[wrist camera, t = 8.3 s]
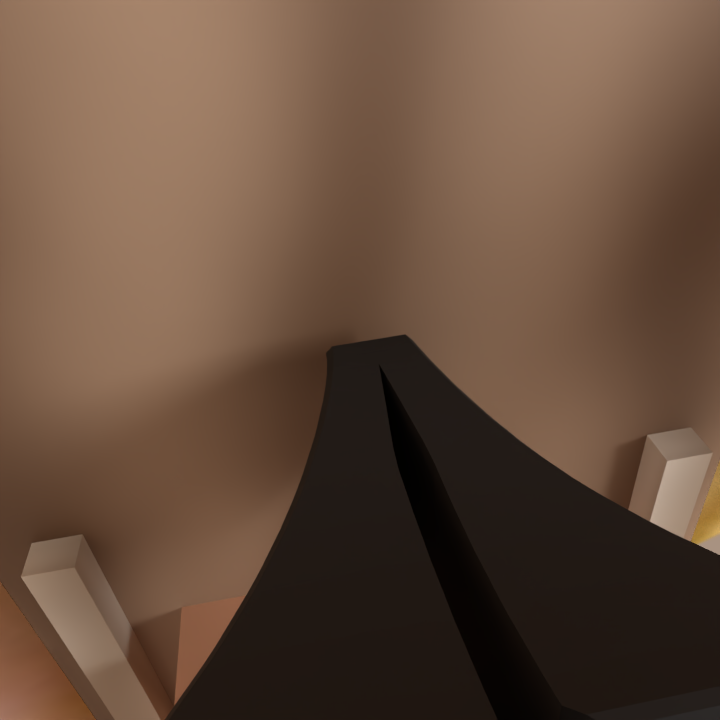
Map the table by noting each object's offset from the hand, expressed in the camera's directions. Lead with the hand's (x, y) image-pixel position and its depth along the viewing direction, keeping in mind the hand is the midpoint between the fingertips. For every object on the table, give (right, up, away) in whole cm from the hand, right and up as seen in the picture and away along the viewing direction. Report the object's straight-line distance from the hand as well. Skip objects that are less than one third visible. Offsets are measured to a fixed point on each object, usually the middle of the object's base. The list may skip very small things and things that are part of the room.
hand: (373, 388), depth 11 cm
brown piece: (0, -1, +5) cm, 5 cm away
